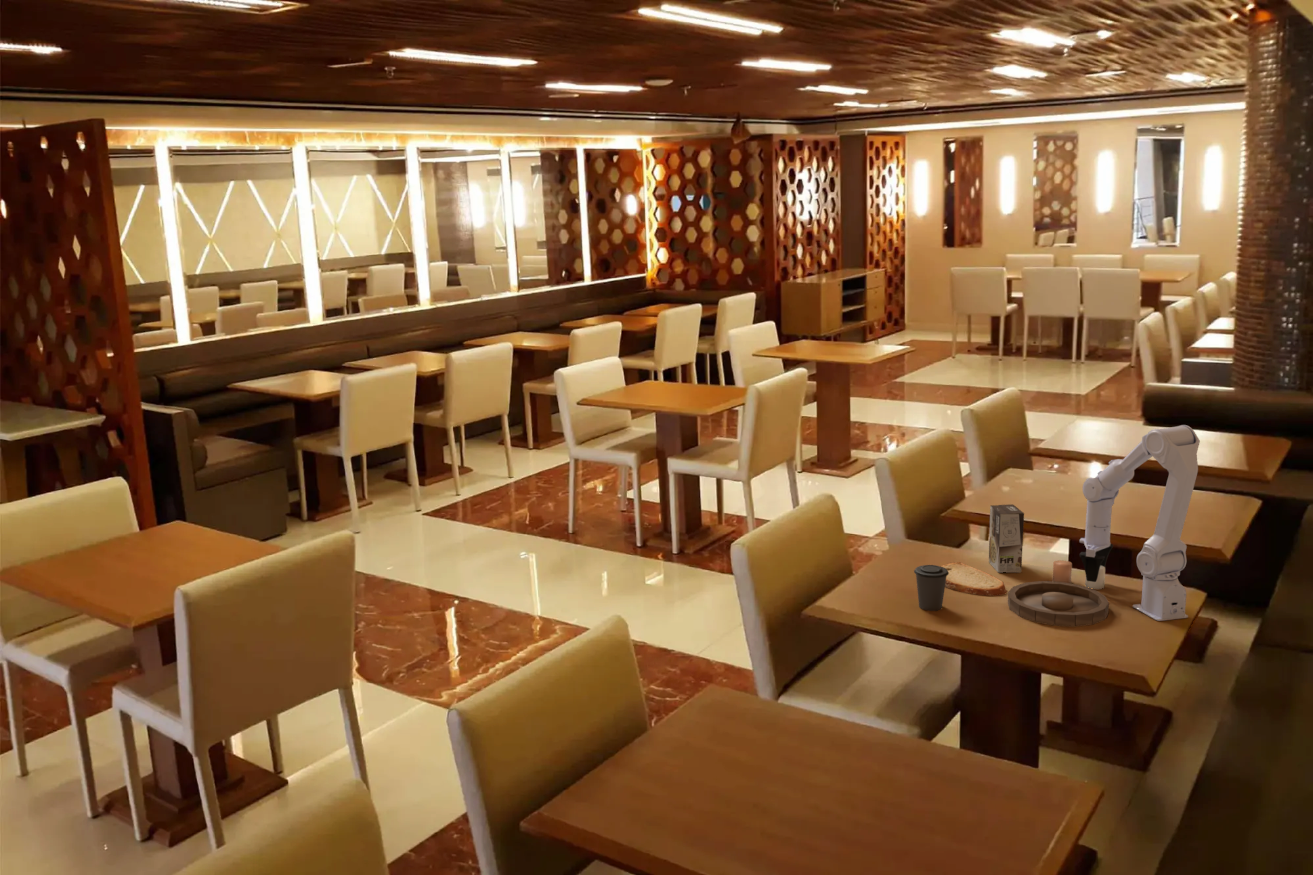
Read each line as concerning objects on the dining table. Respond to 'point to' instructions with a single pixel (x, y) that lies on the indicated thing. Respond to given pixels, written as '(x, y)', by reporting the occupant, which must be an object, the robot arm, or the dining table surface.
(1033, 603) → the groove tray
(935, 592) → the coffee cup
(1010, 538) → the coffee box
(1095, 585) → the translucent white cylinder
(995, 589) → the bread slice
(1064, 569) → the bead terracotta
